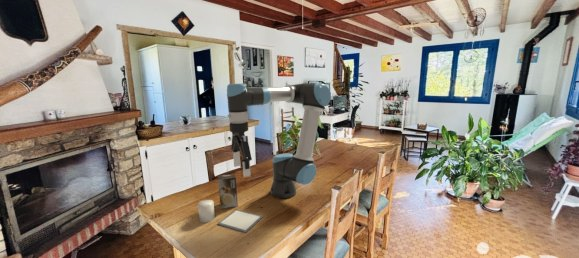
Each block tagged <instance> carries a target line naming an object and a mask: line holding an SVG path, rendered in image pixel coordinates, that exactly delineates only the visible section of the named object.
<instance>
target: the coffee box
mask: <svg viewBox="0 0 579 258" xmlns="http://www.w3.org/2000/svg"><path fill="white" fill-rule="evenodd" d="M217 180H218V181H217V183H218V184H217V185H218V196H219V208H220V209H226V208H234V207H235V208H236V207H239V202H238V190H237V188H238V186H237V176H236V173H231V174H230V173H229V174H222V175H220V174H219V175H217Z"/></svg>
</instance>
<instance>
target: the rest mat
mask: <svg viewBox="0 0 579 258" xmlns="http://www.w3.org/2000/svg"><path fill="white" fill-rule="evenodd" d="M263 218H264V216H263V215H260V214H256V213H251V212H248V211H244V210H241V209H236V208H235V209H234V210H233V211H232V212H231V213H229V214H228V215H226V216H225V217H224V218H223V219H221V220H220V221H218V222H217V225H218V226H222V227H225V228H228V229H231V230H234V231H237V232H238V231H239V232H241V233H244V234H247V233H248V232H249V231H251V229H252V228H253V227H254V226H255V225H256V224H258V223H259V222H260V221H261V220H262V219H263Z"/></svg>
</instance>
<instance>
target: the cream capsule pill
mask: <svg viewBox="0 0 579 258" xmlns="http://www.w3.org/2000/svg"><path fill="white" fill-rule="evenodd" d="M214 202H215V201H214V200H212V199H203V200H201V201H199V202H198V203H197V207H198V210H197V211H198V221H199V222H201V223H204V224H206V223H211V222H212V221H214V220H215V217H216V216H215V205H214V204H215V203H214Z"/></svg>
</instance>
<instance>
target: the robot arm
mask: <svg viewBox="0 0 579 258" xmlns="http://www.w3.org/2000/svg"><path fill="white" fill-rule="evenodd" d="M226 97H227V108H228V114H227V115H226V116H227V118H228V121H229V122H230V123H229V125H228V127H229V132H230V133H231V147H230V149H231V150H232V154H233V155H232V156H233V158H232V159H233V167H235V168H236V167H240V166H241V163H242V171H243V172H242V174H243V178H246V177H251V176H252V175H251V161H252V160H253V159H252V154H251V149H250V145H249V144H250V143H249V138H248V135H245V133H246V132H248V131H249V122H248V120H249V114H248V107H252V106H263V105H268V104H269V103H271V102H272V103H273V102H286V103H288V104H289V103H292V104H294V103H295V104H300V105H302V108H303V109H304V112H303V117H302V121H301V126H300V130H299V138H298V142H297V148H296V153H295V154H294V155H293V153H279V154H276V155H274V156H273V157H272V176H273V177H272V183H271V185H270V195H271V196H273V198H278V199H289V198H293V197H294V196H296V195H297V187H296V185H295V183H297V184H299V185H300V184H301V185H304V186H306V185H309V184H310V183H312V182H313V180H314V179H315V177H316V176H317V171H318V169H317V166H316V164H314V162H315V160H314V158H313V154H314V153H313V152H314V148H315V142H316V137H317V131H318V126H319V121H320V116H321V113H322V112H323V111H324V110H325V107H326V106H328V105H329V104H330V102H331V98H332V95H331V90H330V87H329V86H328V85H327V84H326V83H325V84H324V83H321V82H320V83H319V82H316V83H315V82H314V83H313V82H311V83H303V82H302V83H296V84H289V85H284V86H270V87H269V86H263V87H262V86H256V87H255V86H252V87H251V86H250V87H249V86H246V83H229V84H227V86H226ZM240 152H241V153H240ZM241 155H242V160H241Z"/></svg>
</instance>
